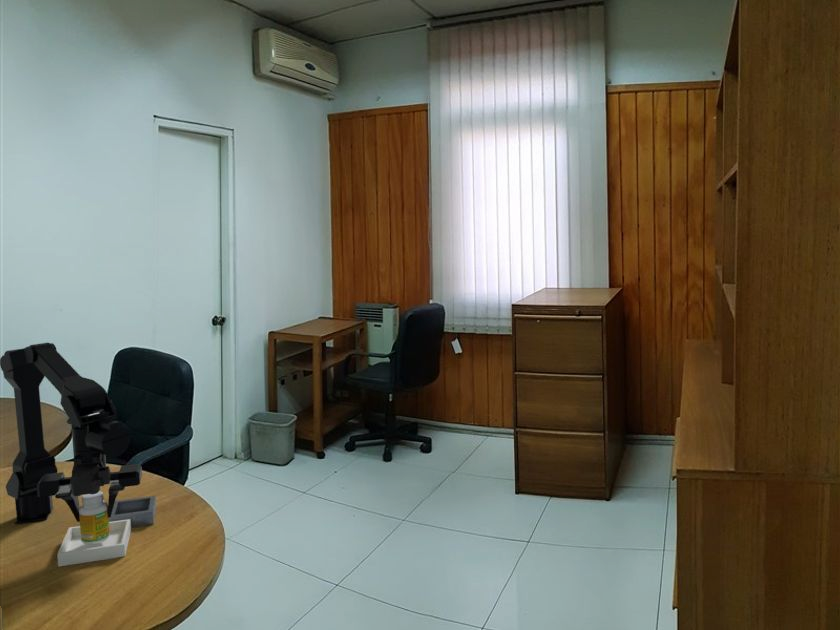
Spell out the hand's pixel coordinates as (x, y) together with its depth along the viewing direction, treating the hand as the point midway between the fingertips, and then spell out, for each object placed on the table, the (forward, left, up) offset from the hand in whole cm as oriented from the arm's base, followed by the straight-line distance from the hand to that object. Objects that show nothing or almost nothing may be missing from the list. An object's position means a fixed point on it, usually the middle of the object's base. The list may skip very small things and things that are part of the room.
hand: (94, 519), depth 132 cm
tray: (0, 0, -6) cm, 6 cm away
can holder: (+6, +12, -6) cm, 15 cm away
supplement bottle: (0, 0, -5) cm, 4 cm away
